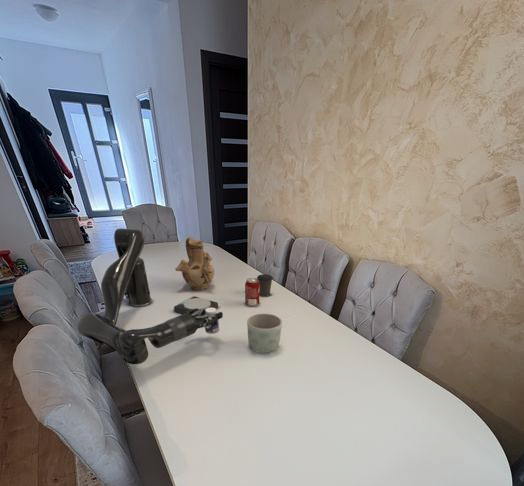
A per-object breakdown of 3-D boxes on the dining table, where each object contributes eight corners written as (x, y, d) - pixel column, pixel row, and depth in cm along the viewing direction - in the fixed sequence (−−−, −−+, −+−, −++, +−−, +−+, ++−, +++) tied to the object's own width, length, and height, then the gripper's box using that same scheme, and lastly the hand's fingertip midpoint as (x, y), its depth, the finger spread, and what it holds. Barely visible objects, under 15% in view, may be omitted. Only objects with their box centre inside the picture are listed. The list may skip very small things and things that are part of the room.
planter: (242, 341, 118) (242, 316, 112) (271, 336, 122) (273, 311, 116) (254, 358, 108) (255, 331, 102) (285, 351, 112) (288, 325, 107)
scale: (174, 311, 138) (173, 305, 136) (194, 300, 149) (193, 294, 147) (199, 319, 133) (198, 312, 131) (218, 307, 143) (217, 300, 141)
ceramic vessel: (177, 293, 156) (171, 242, 142) (186, 280, 172) (181, 233, 158) (213, 294, 156) (210, 244, 142) (218, 281, 172) (216, 235, 158)
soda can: (257, 307, 144) (258, 283, 137) (243, 306, 145) (243, 281, 138) (260, 302, 149) (261, 278, 143) (247, 300, 150) (247, 276, 144)
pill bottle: (205, 327, 118) (204, 306, 113) (219, 327, 119) (218, 306, 114) (204, 334, 114) (202, 312, 109) (219, 334, 114) (217, 312, 109)
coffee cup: (253, 294, 157) (253, 275, 152) (263, 290, 162) (264, 271, 157) (264, 298, 153) (265, 279, 147) (275, 294, 158) (276, 275, 152)
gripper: (167, 330, 109) (204, 315, 120) (193, 345, 101) (230, 327, 112) (164, 311, 105) (203, 297, 116) (191, 325, 97) (229, 308, 108)
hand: (216, 312), depth 114 cm, fingers closed on pill bottle, 5 cm apart
